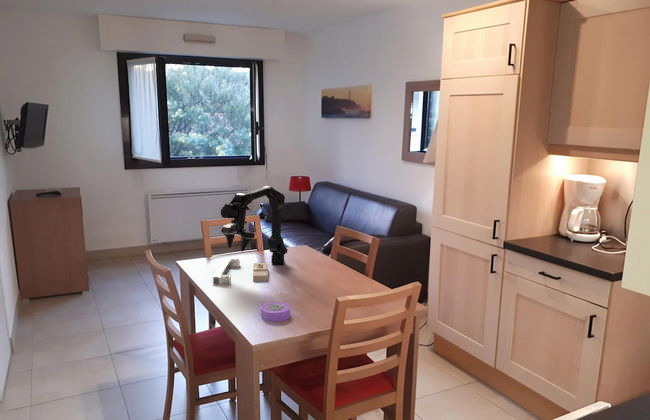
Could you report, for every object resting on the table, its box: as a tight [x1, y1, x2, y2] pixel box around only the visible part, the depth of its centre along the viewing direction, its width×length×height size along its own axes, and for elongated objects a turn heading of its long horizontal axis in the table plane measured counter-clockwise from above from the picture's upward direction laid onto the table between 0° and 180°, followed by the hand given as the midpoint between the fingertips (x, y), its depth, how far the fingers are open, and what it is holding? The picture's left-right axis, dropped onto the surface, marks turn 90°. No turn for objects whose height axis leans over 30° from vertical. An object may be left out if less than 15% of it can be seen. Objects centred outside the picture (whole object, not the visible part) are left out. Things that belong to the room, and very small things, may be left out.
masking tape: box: [260, 301, 291, 323], centre depth 196 cm, size 12×12×4 cm
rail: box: [212, 258, 241, 286], centre depth 245 cm, size 8×31×4 cm, turn 1°
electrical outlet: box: [252, 262, 269, 282], centre depth 245 cm, size 7×4×18 cm
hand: (235, 249), depth 239 cm, fingers open, 9 cm apart
